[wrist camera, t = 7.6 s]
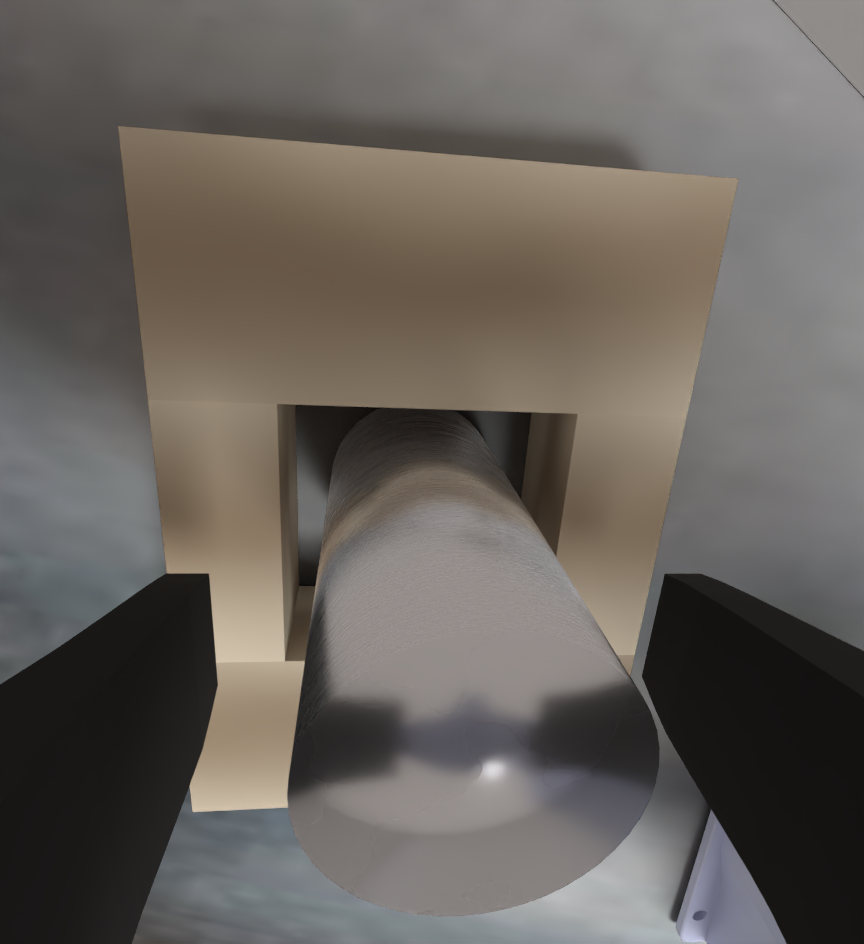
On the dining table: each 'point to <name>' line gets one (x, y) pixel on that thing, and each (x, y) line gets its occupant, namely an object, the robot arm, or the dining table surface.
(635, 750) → the tall pin
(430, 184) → the hole plate
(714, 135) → the dining table surface
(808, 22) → the white slotted housing
